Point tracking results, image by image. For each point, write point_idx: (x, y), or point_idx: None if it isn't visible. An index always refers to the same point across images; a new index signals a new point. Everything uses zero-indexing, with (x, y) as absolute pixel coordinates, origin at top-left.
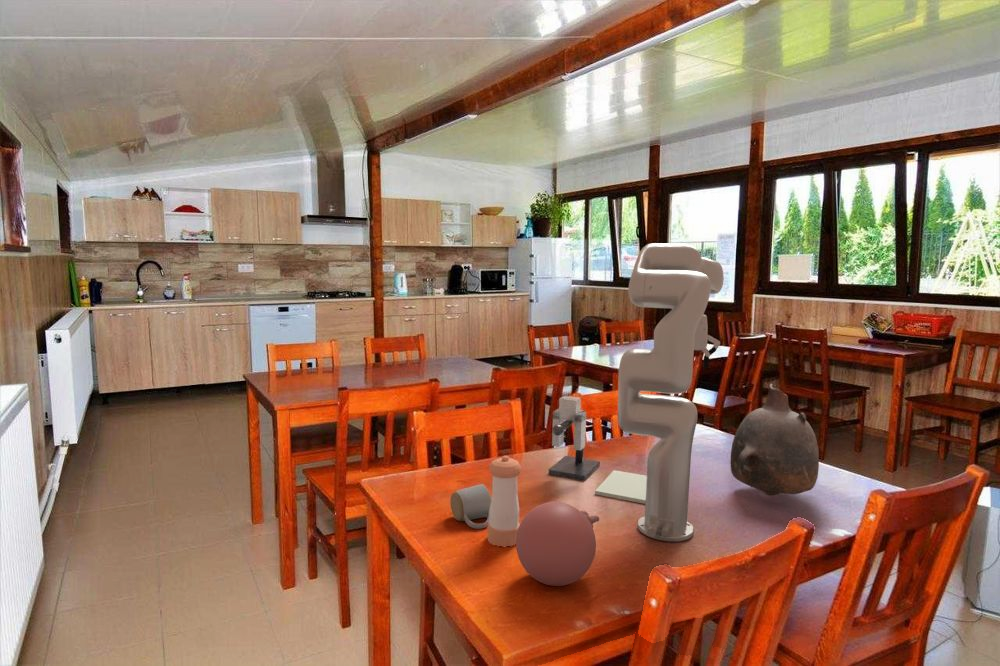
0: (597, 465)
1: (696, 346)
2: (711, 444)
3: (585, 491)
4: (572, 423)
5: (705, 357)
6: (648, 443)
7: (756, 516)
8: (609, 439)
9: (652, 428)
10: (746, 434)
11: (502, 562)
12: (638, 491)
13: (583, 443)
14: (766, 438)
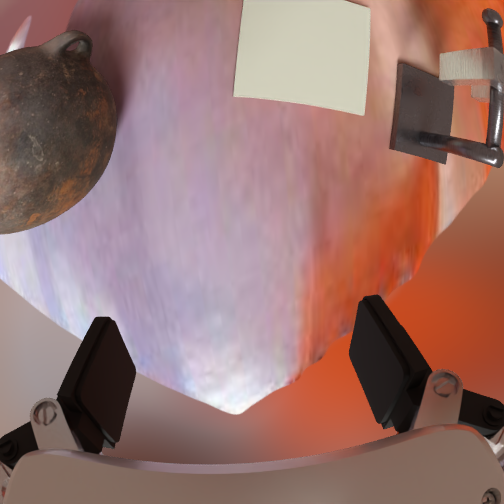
0: (394, 135)
1: (102, 498)
2: (200, 353)
3: (384, 20)
4: None
5: (66, 392)
6: (309, 317)
7: (94, 26)
8: None
9: None
10: (38, 65)
11: None
12: (300, 17)
13: (445, 69)
14: (4, 54)
